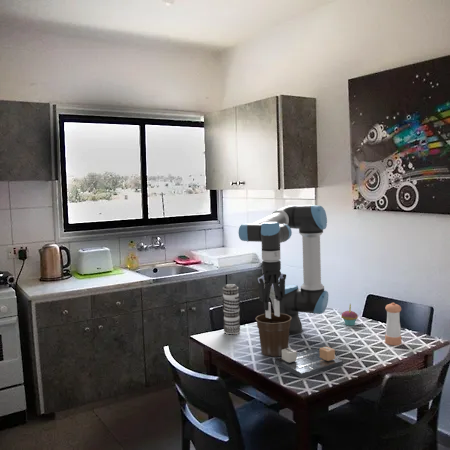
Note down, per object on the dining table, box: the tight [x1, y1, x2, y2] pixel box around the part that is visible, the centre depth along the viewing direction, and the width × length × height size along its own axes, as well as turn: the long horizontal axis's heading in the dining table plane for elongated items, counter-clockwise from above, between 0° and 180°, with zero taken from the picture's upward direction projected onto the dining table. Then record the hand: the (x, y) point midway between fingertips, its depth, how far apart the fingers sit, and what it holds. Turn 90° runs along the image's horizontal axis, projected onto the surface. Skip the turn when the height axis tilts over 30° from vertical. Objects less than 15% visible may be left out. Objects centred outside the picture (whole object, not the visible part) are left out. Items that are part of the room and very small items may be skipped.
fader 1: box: [281, 347, 298, 363], centre depth 204 cm, size 5×4×4 cm
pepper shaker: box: [384, 302, 403, 346], centre depth 226 cm, size 7×7×19 cm
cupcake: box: [340, 303, 359, 327], centre depth 256 cm, size 9×8×12 cm
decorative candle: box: [221, 283, 241, 335], centre depth 249 cm, size 9×9×25 cm
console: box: [274, 347, 344, 379], centre depth 205 cm, size 18×22×2 cm
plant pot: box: [255, 312, 292, 358], centre depth 220 cm, size 16×16×16 cm
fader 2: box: [319, 346, 336, 361], centre depth 205 cm, size 5×4×4 cm
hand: (272, 316), depth 198 cm, fingers open, 4 cm apart
